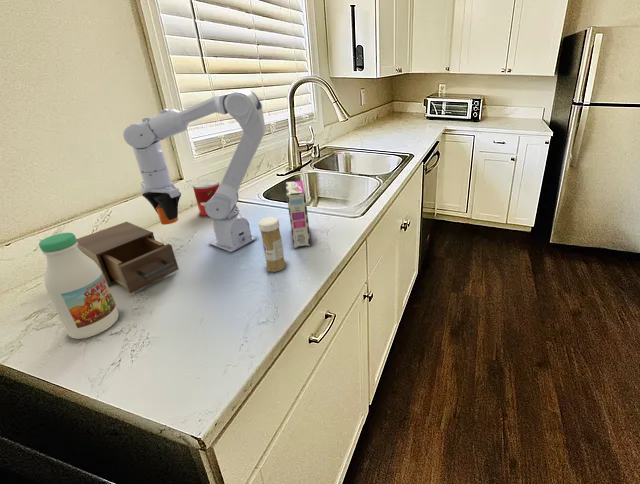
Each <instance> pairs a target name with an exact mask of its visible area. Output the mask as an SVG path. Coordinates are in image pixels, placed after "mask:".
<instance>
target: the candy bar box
mask: <svg viewBox="0 0 640 484" xmlns="http://www.w3.org/2000/svg"><path fill="white" fill-rule="evenodd" d="M285 190H286V191H285V192H286V200H287V206H288V208H287V209H288V214H289V223H290V230H291V237H292V244H293V249H299V248H305V247H310V246H312V245H311V244H312V243H311V234H310V233H311V231H310V223H309V215H308V206H307V196H306V191H305V186H304V181H303V180H292V181H286V182H285Z"/></svg>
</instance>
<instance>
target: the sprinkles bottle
mask: <svg viewBox="0 0 640 484" xmlns="http://www.w3.org/2000/svg"><path fill="white" fill-rule="evenodd" d="M258 228H259V231H260V233H261V239H262V246H263V253H264V258H265V262H266V270H267V271H268V272H270V273H275V272H276V273H277V272H279V271H280V272H281V270H283V269H284V268H285V267H286V262H285V255H284V253H285V252H284V247H283V242H282V241H283V240H282V236H281V231H280V221H279V218H278V217H275V216H267V217H264V218H261V219H260V220H259V221H258Z"/></svg>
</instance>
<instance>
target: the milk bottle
mask: <svg viewBox="0 0 640 484" xmlns="http://www.w3.org/2000/svg"><path fill="white" fill-rule="evenodd" d="M76 239H77V237H76V234H74V233H72V232H62V233H61V232H60V233H56V234H53V235H50V236H47V237H45V238H43V239H42V240H40V241H39V243H38V247H39V249H40V251H41V252H42V255H44V256H45V257H46V270H45V273H44V285H45V289H46V291H47V294H48V296H49V298H50V301H51V303H52V305H53V307H54V309H55V312H56V313H57V315H58V317H59V319H60V322H61V324H62V325H63V327H64V329H65V331H66V333H67V335H68V336H69V337H70V338H72V339H75V340H81V339H82V340H83V339H87V338H91V337H94V336H96V335H99V334H101V333H102V332H104V331H106V330H108V329H109V328H110V327H112V326H114V325H115V323H116V322H117V321H118V319H119V315H120V312H119V310H118V306H117V304H116V302H115V299H114V297H113V295H112V292H111V289H110V288H109V287H110V286H108V285H107V283H106V280H105V278H104V276H103V274H102V271H101V269H100V268H99V266H98V265H97V264H96V263H95V262H94V261H93V260H92V259H91V258H89V257H88V256H86V255H85V254H84V253H83V252H82V251H81V250H80V249H79V248H78V247H77V245H78V242H77V240H76Z"/></svg>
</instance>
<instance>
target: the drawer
mask: <svg viewBox="0 0 640 484" xmlns="http://www.w3.org/2000/svg"><path fill="white" fill-rule="evenodd" d="M172 245H173V244H171V243H167V244H165V243H163V242H161V241H158V240H156V239H155V240H154V239H152V238H149V237H145V238H143V239H140V240H138V241H135V242H133V243H130V244H128V245H125V246H123V247H120V248H118V249H115V250H113V251H110V252H108V253H105V254H103V255H100V257H101V259H102V262H103V264H104V267H105V269H106V272H107V274H108V277H109V278H110V279H112V280H114V281H115V282H117V283H116V284H119V285H121V286H122V287H124V288H126V291H127V293H128V294H130V295H132V294H134V293H136V292H138V291H140V290H141V289H143V288H145V287H147V286H149V285H152V284H153V283H155V282H157V281H159V280H161V279H163V278H165V277H167V276H169V275H171V274H173V273H174V272H175V273H176V271H178V270H179V269H180V268H179V265H178V262H177V258H176V255H175V252H174V248H173V246H172Z"/></svg>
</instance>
